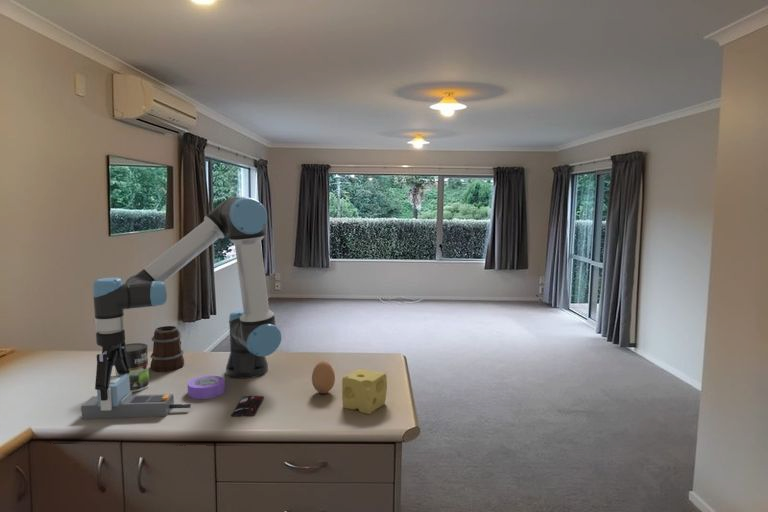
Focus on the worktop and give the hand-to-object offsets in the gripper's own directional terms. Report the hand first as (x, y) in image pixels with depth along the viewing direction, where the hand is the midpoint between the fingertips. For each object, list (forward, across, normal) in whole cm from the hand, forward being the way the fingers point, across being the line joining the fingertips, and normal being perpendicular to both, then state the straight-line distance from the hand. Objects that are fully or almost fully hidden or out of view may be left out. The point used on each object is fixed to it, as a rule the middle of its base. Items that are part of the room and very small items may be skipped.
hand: (114, 402), depth 154 cm
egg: (+4, -11, +62) cm, 63 cm away
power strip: (+3, 0, +7) cm, 8 cm away
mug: (+4, -44, +2) cm, 44 cm away
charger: (-1, 0, 0) cm, 1 cm away
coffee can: (+4, -21, -3) cm, 22 cm away
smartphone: (+4, -2, +39) cm, 39 cm away
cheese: (+4, 0, +75) cm, 75 cm away
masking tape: (+4, -15, +23) cm, 28 cm away
